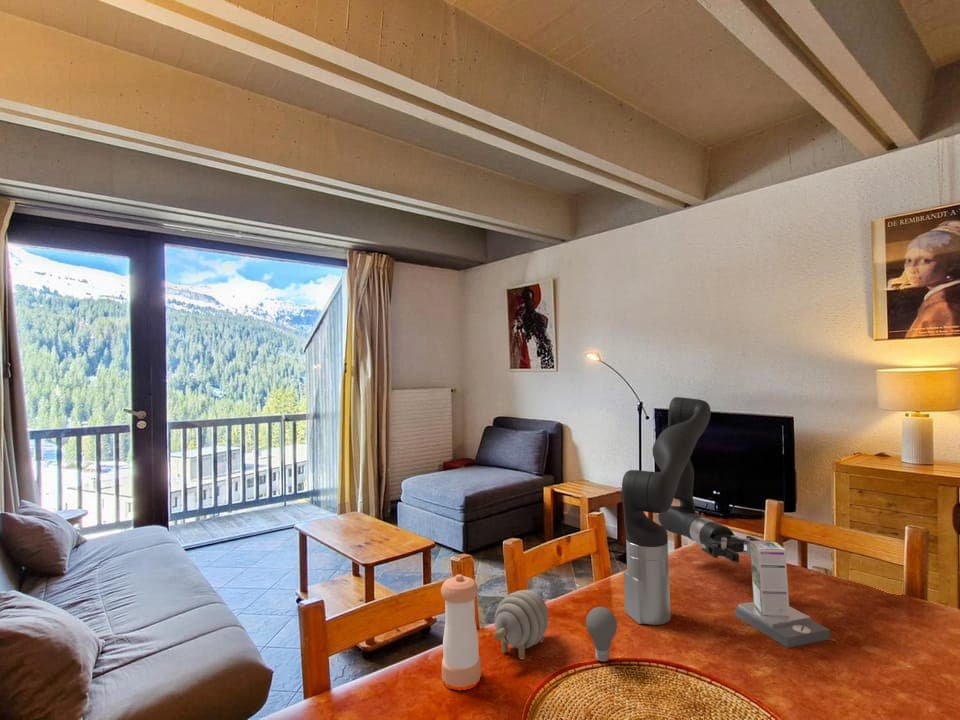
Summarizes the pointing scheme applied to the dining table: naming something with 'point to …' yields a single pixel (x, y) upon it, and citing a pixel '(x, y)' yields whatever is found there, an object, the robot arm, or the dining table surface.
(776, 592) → the syrup box
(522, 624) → the toy sheep
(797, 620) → the scale pan
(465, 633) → the salt shaker
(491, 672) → the dining table surface
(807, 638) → the scale base
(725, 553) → the robot arm
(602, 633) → the light bulb
